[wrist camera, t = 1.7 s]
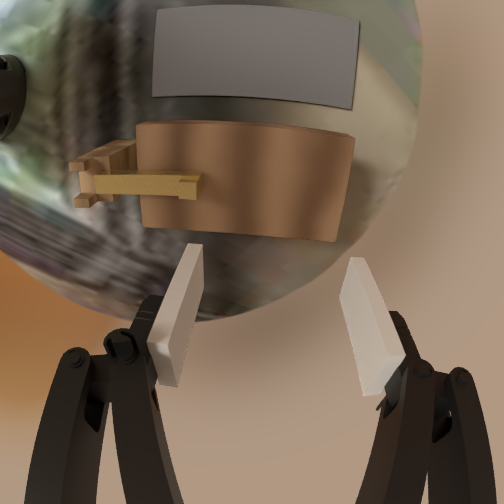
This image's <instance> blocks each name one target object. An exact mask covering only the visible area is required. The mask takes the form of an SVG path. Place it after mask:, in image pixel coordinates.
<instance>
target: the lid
mask: <svg viewBox="0 0 504 504" xmlns="http://www.w3.org/2000/svg"><path fill="white" fill-rule="evenodd" d="M354 145H355V138H353V137H352V136H350V135H348V134H345V133H339V132H333V131H326V130H319V129H312V128H305V127H296V126H287V125H278V124H266V123H253V122H237V121H211V120H167V121H146V122H144V123H141V124H138V125H136V146H137V166H138V170H170V171H201V172H203V192H202V193H201V195H200V197H198V198H197V200H190V199H179V196H167V195H140V204H141V214H142V223H143V227H153V228H168V229H182V230H196V231H210V232H223V233H236V234H249V235H261V236H273V237H285V238H296V239H307V240H319V241H329V242H336V237H337V233H338V229H339V224H340V219H341V215H342V210H343V205H344V200H345V195H346V190H347V185H348V180H349V174H350V169H351V163H352V157H353V151H354Z"/></svg>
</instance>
